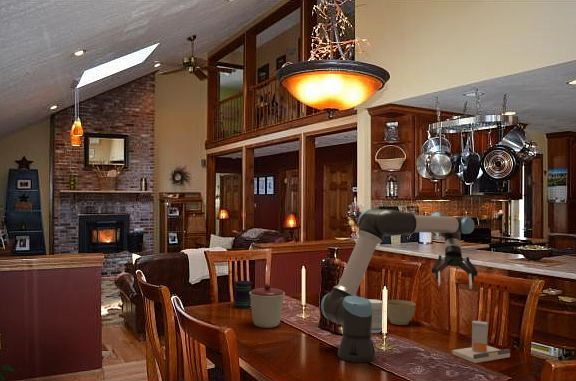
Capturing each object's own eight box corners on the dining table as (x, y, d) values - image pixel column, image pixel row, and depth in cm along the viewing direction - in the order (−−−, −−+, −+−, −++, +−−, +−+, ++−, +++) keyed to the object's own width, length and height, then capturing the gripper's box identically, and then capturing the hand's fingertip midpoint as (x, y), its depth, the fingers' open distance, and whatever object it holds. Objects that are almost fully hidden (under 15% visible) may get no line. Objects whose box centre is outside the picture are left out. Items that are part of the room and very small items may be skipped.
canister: (243, 328, 230) (244, 285, 230) (254, 319, 247) (255, 279, 248) (279, 331, 225) (280, 287, 226) (288, 322, 243) (289, 281, 243)
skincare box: (471, 351, 196) (471, 322, 197) (471, 348, 200) (472, 320, 200) (487, 353, 194) (487, 324, 194) (487, 350, 198) (487, 321, 198)
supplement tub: (387, 332, 229) (387, 301, 229) (372, 334, 224) (373, 303, 224) (373, 327, 237) (373, 298, 238) (359, 330, 232) (359, 300, 232)
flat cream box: (475, 363, 186) (475, 355, 186) (452, 354, 197) (452, 346, 197) (510, 357, 195) (510, 349, 195) (486, 348, 206) (486, 341, 206)
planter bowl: (421, 326, 243) (422, 304, 243) (395, 328, 237) (395, 306, 237) (403, 318, 258) (403, 298, 258) (378, 320, 252) (378, 300, 252)
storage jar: (254, 307, 278) (254, 281, 278) (244, 310, 269) (244, 283, 270) (240, 304, 283) (241, 280, 283) (230, 307, 275) (231, 282, 275)
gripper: (479, 256, 227) (483, 293, 212) (426, 253, 233) (426, 288, 218) (481, 246, 222) (485, 282, 207) (426, 243, 228) (426, 278, 213)
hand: (455, 285), depth 213 cm, fingers open, 13 cm apart
